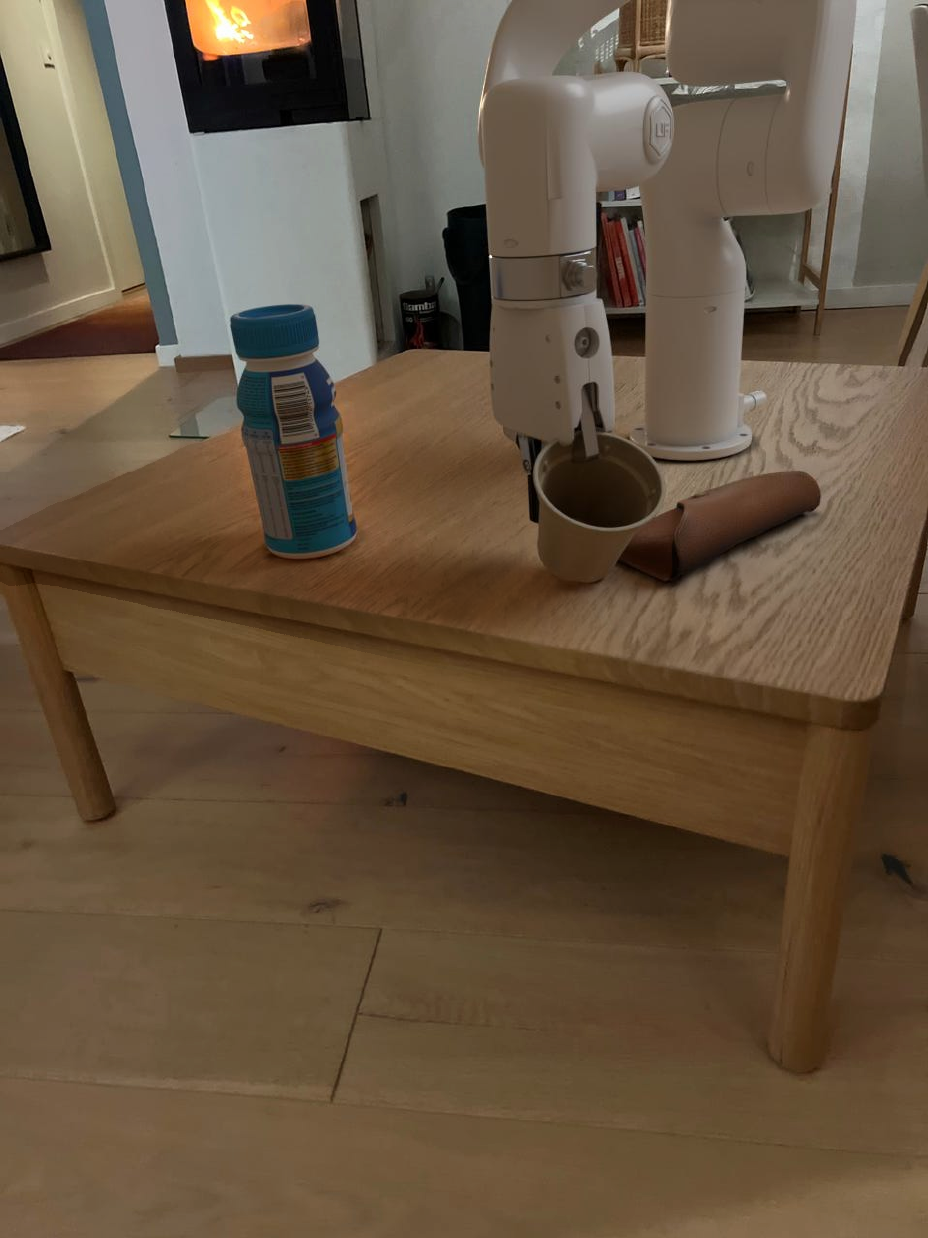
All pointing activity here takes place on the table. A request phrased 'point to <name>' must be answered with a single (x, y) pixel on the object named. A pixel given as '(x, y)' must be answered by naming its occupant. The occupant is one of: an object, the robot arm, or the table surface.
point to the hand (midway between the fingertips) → (551, 519)
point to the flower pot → (593, 505)
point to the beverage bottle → (292, 433)
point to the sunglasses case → (718, 522)
